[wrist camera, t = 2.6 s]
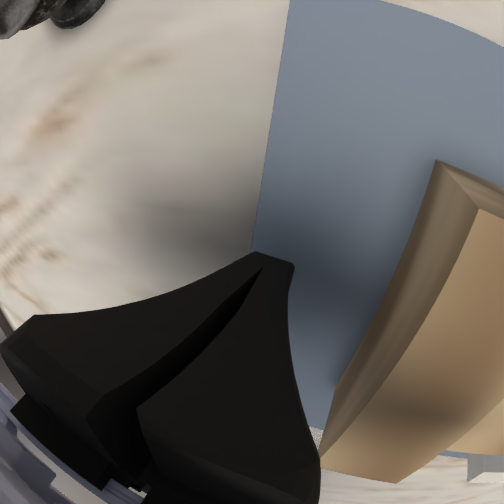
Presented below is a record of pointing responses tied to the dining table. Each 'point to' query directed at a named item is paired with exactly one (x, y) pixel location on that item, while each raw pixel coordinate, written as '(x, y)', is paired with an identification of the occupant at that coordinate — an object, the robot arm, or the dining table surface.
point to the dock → (485, 468)
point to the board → (364, 162)
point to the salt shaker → (44, 14)
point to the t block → (430, 343)
